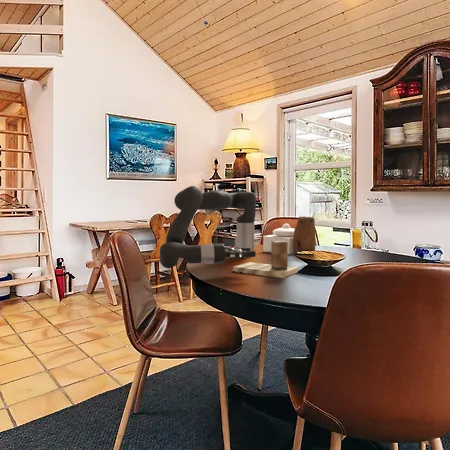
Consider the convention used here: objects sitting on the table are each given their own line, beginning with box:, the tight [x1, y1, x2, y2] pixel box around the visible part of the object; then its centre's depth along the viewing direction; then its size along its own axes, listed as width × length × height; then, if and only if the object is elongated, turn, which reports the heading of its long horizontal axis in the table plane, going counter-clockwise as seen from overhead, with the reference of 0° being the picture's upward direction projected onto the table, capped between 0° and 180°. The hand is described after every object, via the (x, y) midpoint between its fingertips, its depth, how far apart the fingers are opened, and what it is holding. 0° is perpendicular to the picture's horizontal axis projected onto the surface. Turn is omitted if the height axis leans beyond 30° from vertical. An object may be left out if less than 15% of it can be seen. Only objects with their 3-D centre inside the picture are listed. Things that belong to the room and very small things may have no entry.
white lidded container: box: [262, 223, 295, 256], centre depth 216 cm, size 18×18×16 cm
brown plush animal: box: [294, 216, 316, 253], centre depth 204 cm, size 11×8×20 cm
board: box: [232, 261, 299, 279], centre depth 158 cm, size 23×13×2 cm, turn 55°
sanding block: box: [270, 241, 288, 270], centre depth 154 cm, size 5×5×11 cm
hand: (252, 252), depth 152 cm, fingers open, 8 cm apart
